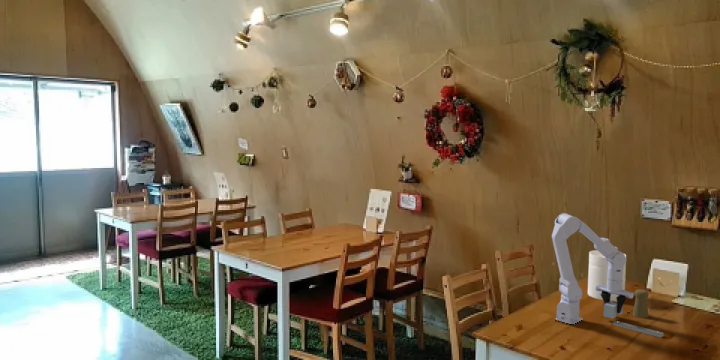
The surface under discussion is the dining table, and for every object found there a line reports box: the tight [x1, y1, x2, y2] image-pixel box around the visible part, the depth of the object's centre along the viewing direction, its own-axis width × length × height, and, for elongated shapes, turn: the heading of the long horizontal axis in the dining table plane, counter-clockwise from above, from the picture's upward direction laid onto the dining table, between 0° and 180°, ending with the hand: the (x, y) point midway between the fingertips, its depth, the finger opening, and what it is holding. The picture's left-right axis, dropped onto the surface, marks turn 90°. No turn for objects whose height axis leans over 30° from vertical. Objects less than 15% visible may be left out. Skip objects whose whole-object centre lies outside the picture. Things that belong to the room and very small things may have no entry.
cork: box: [632, 288, 650, 319], centre depth 235 cm, size 6×6×11 cm
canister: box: [587, 249, 627, 301], centre depth 262 cm, size 16×16×20 cm
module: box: [603, 300, 624, 320], centre depth 230 cm, size 9×4×5 cm, turn 133°
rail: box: [613, 320, 664, 338], centre depth 218 cm, size 2×18×2 cm, turn 43°
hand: (613, 311), depth 230 cm, fingers closed on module, 4 cm apart
